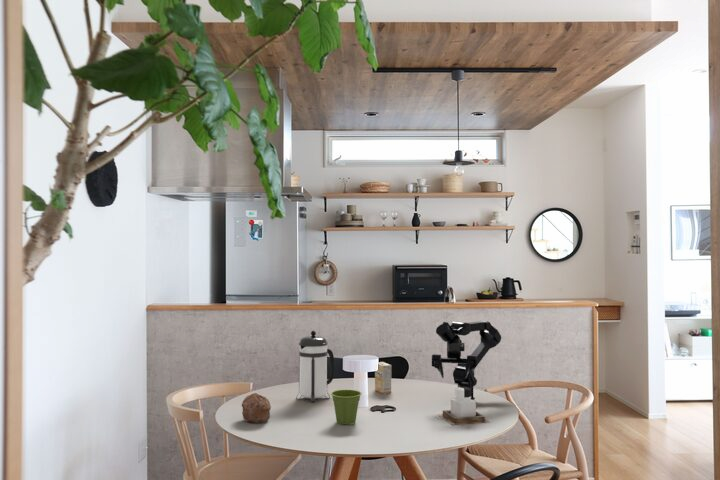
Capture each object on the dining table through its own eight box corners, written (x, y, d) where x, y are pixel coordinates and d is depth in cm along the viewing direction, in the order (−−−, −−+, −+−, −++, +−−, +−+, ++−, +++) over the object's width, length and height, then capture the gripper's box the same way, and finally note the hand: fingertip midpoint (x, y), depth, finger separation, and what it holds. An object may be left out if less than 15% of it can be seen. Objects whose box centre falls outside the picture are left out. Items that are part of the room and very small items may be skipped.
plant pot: (324, 424, 239) (324, 394, 239) (340, 416, 249) (340, 388, 249) (352, 428, 233) (352, 397, 233) (367, 420, 244) (367, 391, 244)
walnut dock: (473, 413, 257) (473, 407, 257) (491, 424, 242) (491, 417, 242) (436, 416, 253) (436, 409, 253) (452, 427, 238) (452, 420, 238)
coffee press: (331, 403, 271) (331, 333, 271) (294, 402, 271) (294, 333, 271) (333, 393, 288) (334, 328, 288) (298, 393, 288) (299, 327, 289)
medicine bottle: (464, 414, 252) (464, 384, 253) (476, 418, 246) (476, 388, 246) (450, 417, 249) (450, 386, 249) (461, 421, 243) (461, 390, 243)
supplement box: (374, 390, 295) (374, 362, 295) (383, 389, 297) (383, 361, 297) (382, 394, 288) (382, 365, 288) (391, 393, 290) (391, 364, 290)
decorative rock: (239, 417, 248) (239, 392, 248) (267, 414, 252) (267, 389, 252) (245, 426, 236) (245, 399, 236) (274, 423, 240) (274, 397, 240)
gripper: (431, 335, 268) (431, 366, 257) (476, 336, 266) (478, 367, 254) (431, 350, 275) (431, 381, 264) (475, 352, 273) (476, 383, 262)
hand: (454, 378), depth 261 cm, fingers open, 9 cm apart
